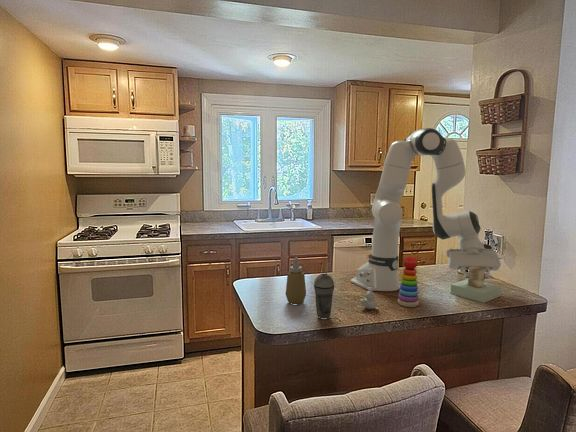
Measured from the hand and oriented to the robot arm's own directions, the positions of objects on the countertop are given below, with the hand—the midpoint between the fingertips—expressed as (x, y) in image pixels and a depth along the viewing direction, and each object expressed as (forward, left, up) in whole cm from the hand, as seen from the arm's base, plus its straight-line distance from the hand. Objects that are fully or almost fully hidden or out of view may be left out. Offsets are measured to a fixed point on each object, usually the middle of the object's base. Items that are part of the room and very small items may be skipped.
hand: (477, 277), depth 162 cm
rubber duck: (-16, -48, -8) cm, 51 cm away
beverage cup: (-20, -67, -8) cm, 70 cm away
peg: (0, 0, -6) cm, 6 cm away
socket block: (0, 0, -7) cm, 7 cm away
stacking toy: (-10, -32, -8) cm, 34 cm away
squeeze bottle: (-37, -66, -8) cm, 76 cm away
